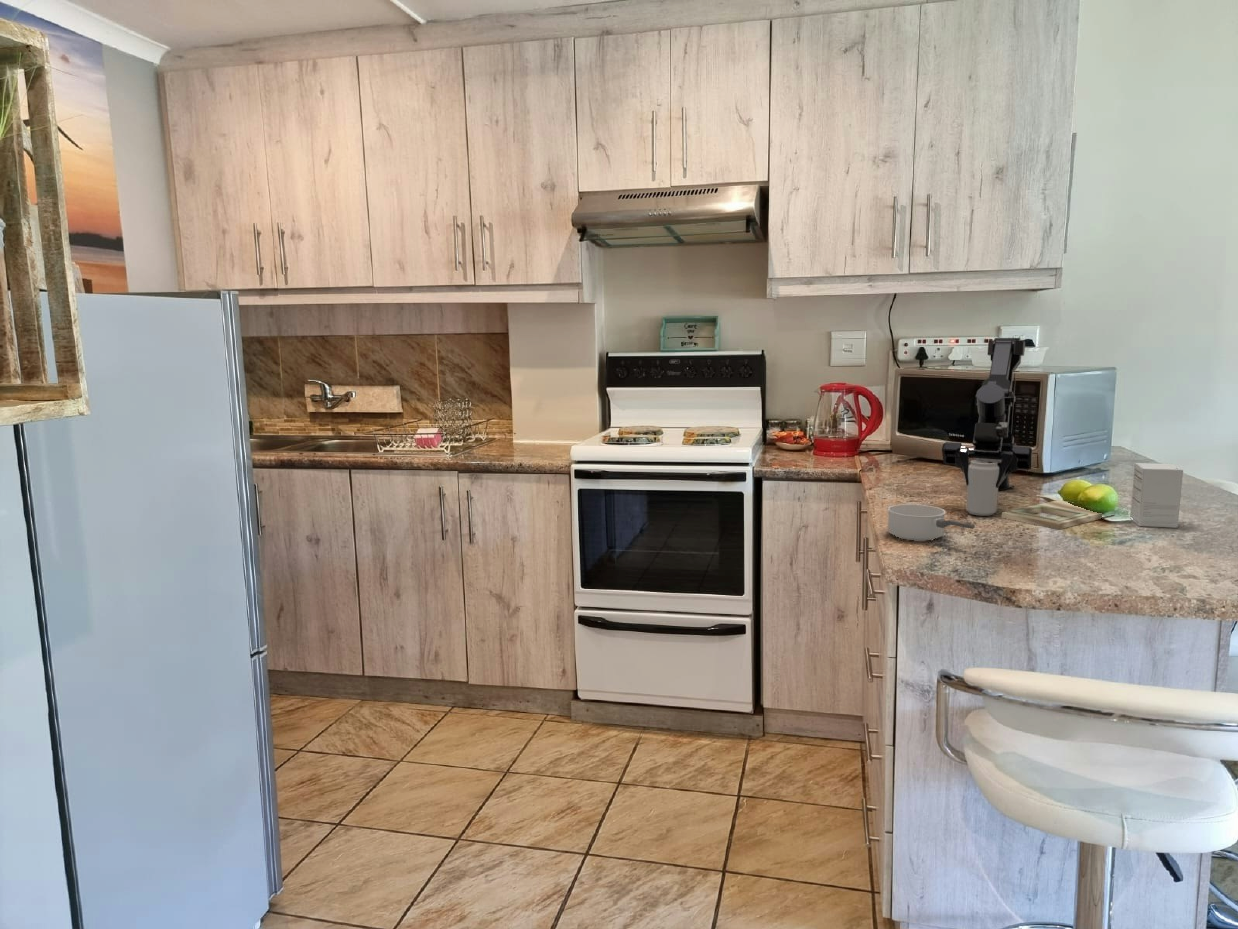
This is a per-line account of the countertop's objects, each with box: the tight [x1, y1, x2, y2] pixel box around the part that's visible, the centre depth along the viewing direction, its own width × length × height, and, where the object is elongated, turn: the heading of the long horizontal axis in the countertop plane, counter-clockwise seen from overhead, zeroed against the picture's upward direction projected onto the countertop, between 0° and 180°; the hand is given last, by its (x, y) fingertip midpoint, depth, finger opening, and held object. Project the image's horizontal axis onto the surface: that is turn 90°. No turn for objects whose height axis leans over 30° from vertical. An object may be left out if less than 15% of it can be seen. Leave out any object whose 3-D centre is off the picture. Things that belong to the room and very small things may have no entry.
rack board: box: [1001, 499, 1102, 530], centre depth 183 cm, size 22×13×1 cm, turn 122°
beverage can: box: [965, 459, 999, 517], centre depth 185 cm, size 6×6×12 cm
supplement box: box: [1129, 462, 1184, 529], centre depth 175 cm, size 7×7×13 cm
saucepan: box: [886, 503, 976, 542], centre depth 165 cm, size 12×20×6 cm, turn 25°
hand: (981, 485), depth 184 cm, fingers closed on beverage can, 6 cm apart
